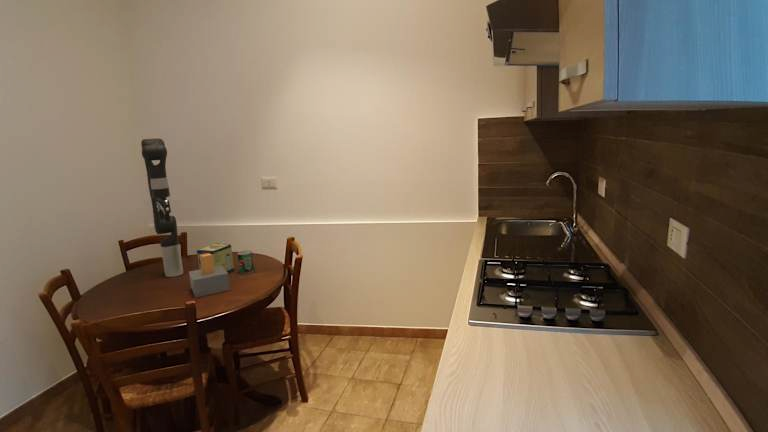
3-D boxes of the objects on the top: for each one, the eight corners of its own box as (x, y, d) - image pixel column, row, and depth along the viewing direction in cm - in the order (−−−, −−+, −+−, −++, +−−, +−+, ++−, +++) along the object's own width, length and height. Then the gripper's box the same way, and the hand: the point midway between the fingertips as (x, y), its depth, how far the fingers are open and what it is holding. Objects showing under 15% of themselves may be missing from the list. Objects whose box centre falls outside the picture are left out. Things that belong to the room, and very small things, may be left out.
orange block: (202, 272, 219) (199, 255, 217) (210, 270, 222) (208, 253, 221) (205, 274, 216) (203, 256, 214) (214, 271, 219) (212, 254, 217)
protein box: (199, 277, 239) (196, 250, 236) (220, 268, 253) (216, 242, 250) (215, 279, 235) (211, 251, 232) (234, 270, 249) (231, 243, 246)
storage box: (191, 288, 224) (188, 271, 222) (223, 281, 231) (221, 265, 230) (195, 298, 210) (192, 280, 208) (230, 290, 218) (227, 273, 216)
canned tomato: (257, 269, 248) (255, 251, 245) (247, 274, 241) (245, 255, 239) (246, 268, 251) (244, 250, 249) (236, 272, 244) (234, 253, 242)
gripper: (173, 187, 208) (178, 220, 211) (163, 185, 218) (168, 217, 221) (156, 189, 203) (161, 223, 206) (147, 187, 213) (152, 220, 217)
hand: (165, 220), depth 214 cm, fingers open, 8 cm apart
